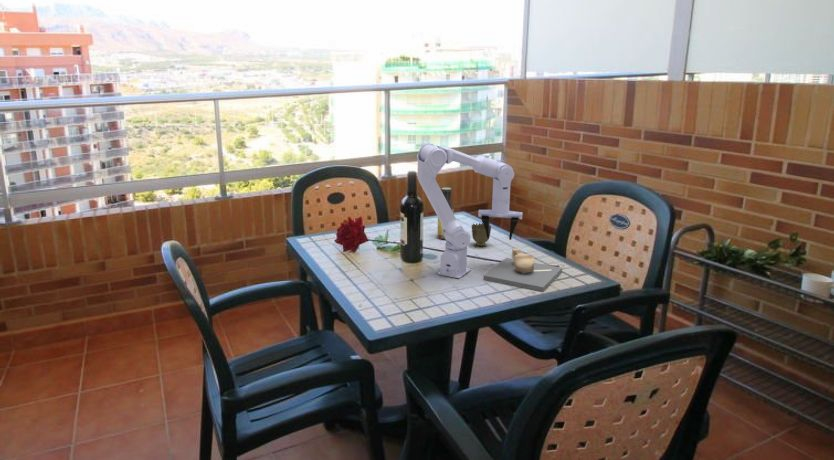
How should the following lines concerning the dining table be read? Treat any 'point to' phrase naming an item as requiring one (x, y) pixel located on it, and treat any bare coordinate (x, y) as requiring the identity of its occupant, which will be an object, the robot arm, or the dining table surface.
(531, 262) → the beige rounded piece
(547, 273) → the base plate
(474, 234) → the cup
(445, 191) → the sauce bottle
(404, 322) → the dining table surface
